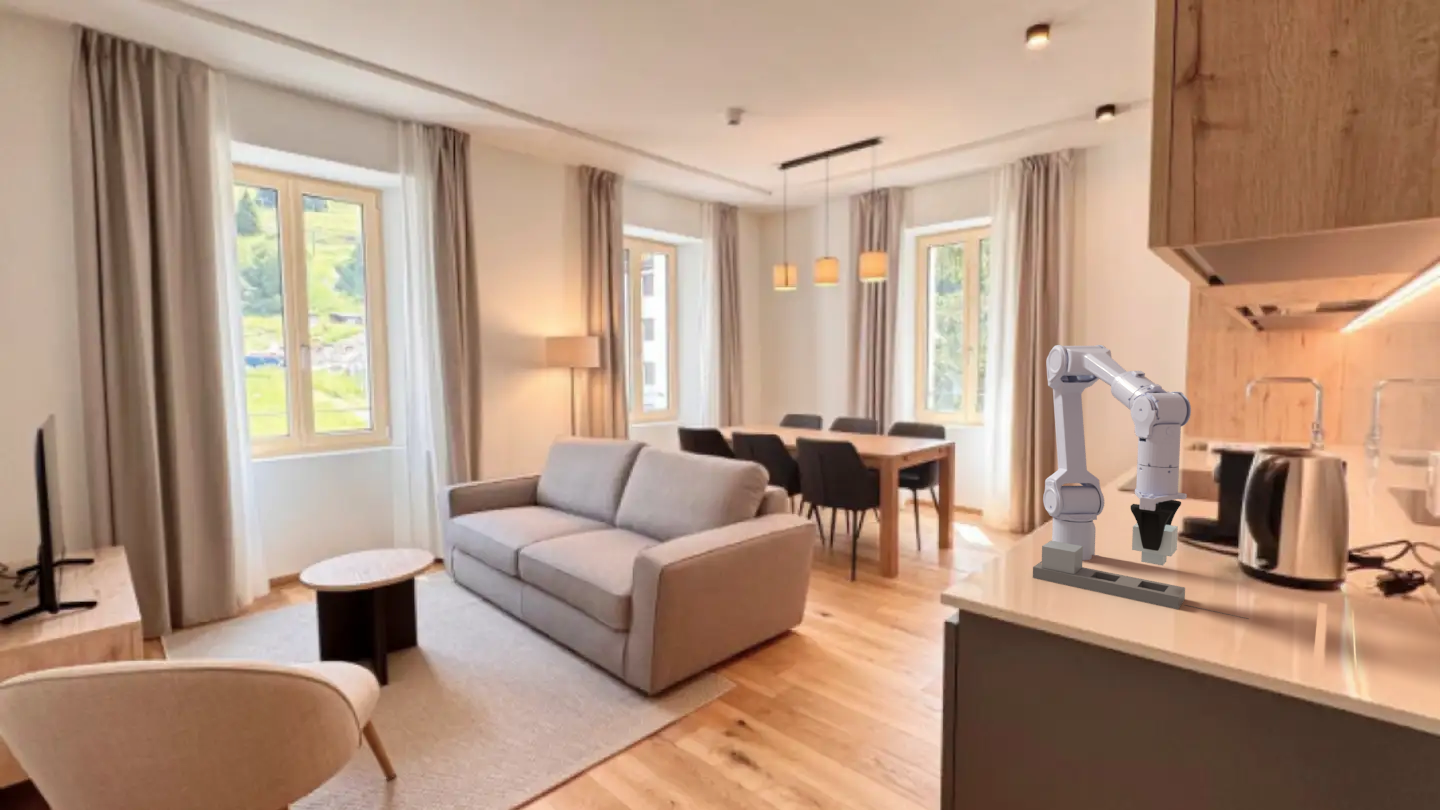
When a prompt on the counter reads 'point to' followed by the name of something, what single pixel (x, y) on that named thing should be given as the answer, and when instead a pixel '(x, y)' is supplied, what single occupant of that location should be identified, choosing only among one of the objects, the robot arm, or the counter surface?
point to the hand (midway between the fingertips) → (1154, 545)
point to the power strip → (1103, 578)
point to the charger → (1166, 546)
